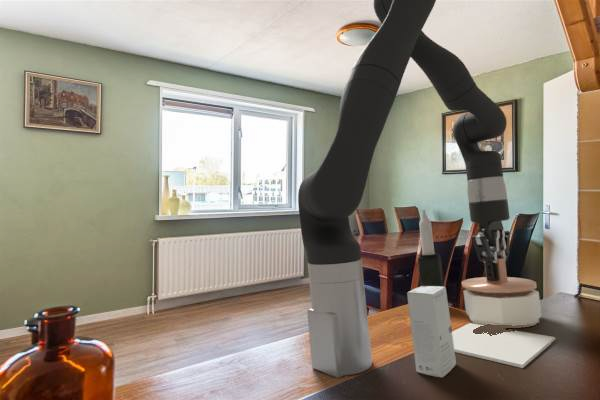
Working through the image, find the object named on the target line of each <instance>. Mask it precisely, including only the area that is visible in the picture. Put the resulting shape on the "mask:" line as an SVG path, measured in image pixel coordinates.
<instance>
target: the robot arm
mask: <svg viewBox="0 0 600 400" xmlns="http://www.w3.org/2000/svg"><path fill="white" fill-rule="evenodd" d="M436 1H437V0H373V1H372V2H373V4H372V6H373V10H374V13H375V15H376V17H377V18H378V21H379V22H380V23H381V26H380V27H379V28H378V30H377V31H376V32H375V34H374V35H372V38H371V39H370V40H369V41H368V43H367V44H366V45H365V47H364V49H363V50H362V51H361V53H360V54H359V56H358V57H357V59H356V60H355V63H354V64H353V67H352V69H351V71H350V73H349V75H348V79H347V81H346V83H345V85H344V88H343V91H342V92H341V93H342V95H341V97H340V102H339V112H338V113H339V114H338V123H337V124H338V125H337V129H336V132H335V135H334V138H333V141H332V142H331V144H330V147H329V149H328V151H327V153H326V155H325V157H324V159H323V161H322V162H321V164H320V166H319V167H318V169H316V170H315V171H313V172H311V173H310V174H308V175H307V176H306V177H305V178H304V179H303V180H302V182H301V183H300V185H299V189H298V193H297V194H298V196H297V200H298V203H297V205H298V206H297V207H298V215H299V223H300V231H301V238H302V244H303V247H304V250H305V253H306V257H307V258H306V261H307V269H308V270H307V271H308V283H309V293H310V295H309V296H310V304H311V308H309V309H308V310H307V325H308V333H309V334H308V335H309V345H310V346H309V347H310V357H311V367H312V368H313V369H315V370H317V371H320V372H322V373H324V374H327V375H329V376H331V377H334V378H338V379H339V378H340V377H343V376H352V375H356V374H360V373H363V372H365V371H367V370H368V369H370V368H371V366H372V364H373V358H372V349H371V339H370V328H369V319H368V310H367V299H366V290H365V281H364V280H365V279H364V270H363V262H362V261H363V259H362V250H361V249H362V248H361V245H360V243H359V240H357V239H356V238H355V237H354V235H353V233H352V229H351V225H350V218H349V217H350V216H351V215H352V214H353V213H354V212H355V211H356V210H357V209H358V208H359V206H360V204H361V201H362V199H363V197H364V192H365V189H366V185H367V180H368V176H369V174H370V173H369V172H370V168H371V165H372V160H373V157H374V154H375V151H376V147H377V145H378V142H379V140H380V138H381V135H382V133H383V131H384V128H385V125H386V123H387V120H388V117H389V115H390V112H391V110H392V108H393V105H394V102H395V100H396V97H397V95H398V92H399V89H400V87H401V82H402V80H403V77H404V74H405V72H406V69H407V67H408V64H409V61H410V59H412V60H413V61H414V62H415V64H417V66H418V67H419V69H421V71H422V72H423V73H424V75H425V76H426V77H427V79H428V80H429V82H430V83H431V85H432V86H433V88H434V90H435V91H436V93H437V94H438V96H439V98H440V99H441V101H442V102H443V104H444V105H445V107H446V108H447V110H449V111H452V112H460V111H461V112H463V111H464V112H465V111H466V113H464V114H461V115H459V116H458V117H456V119H455V120H454V123H453V126H452V133H453V139H454V140H455V142H456V144H457V146H458V149H459V152H460V154H461V156H462V158H463V162H464V164H465V171H466V179H467V180H466V181H467V182H466V183H467V187H466V189H467V190H466V192H467V193H466V194H467V200H468V202H467V203H468V209H469V217H470V222H471V223H478V224H477V235H475V234H474V235H471V241H472V243H473V246H474V250H475V252H476V256H477V259H478V261H479V262H483V263H484V267H485V266H486V271H485V276H486V275H487V280H488V281H498V280H499V274H498V265H497V258H505V261H507V258H508V257H509V255H510V240H511V232H510V230H505V228H504V226H503V221H508V220H510V209H509V202H508V193H507V186H506V183H505V180H504V171H503V163H502V157H501V154H500V153H499V152H498V151H496V150H482V149H481V148H480V146H479V144H478V143H481V142H486V141H489V140H493V139H496V138H499V137H501V136H502V135H503V134H504V133H505V131H506V129H507V124H508V123H507V117H506V115H505V113H504V111H503V110H502V108H501V107H500V106H499V105H498V104H497V103H496V102H494V101H493V100H492V99H491V98H490V97H489V96H488V95H487V94H486V93H485V92H484V91H483V90H482V89H481V88H479V87H478V85H477V83H476V81H475V80H474V78H473V77H472V75H471V73H470V72H469V70H468V68H467V66H466V65H465V64H464V62H463V61H462V59H460V58H459V57H458V56H457V55H456V54H454V53H453V52H451V51H450V50H449V49H446V48H445V47H443V46H442V45H439V44H438V43H437V42H435V41H434V40H433V39H432V38H430V37H429V36H427V35H426V33H425V32H424V31H423V28H424V26H425V24H426V22H427V20H428V18H429V16H430V14H431V13H432V11H433V9H434V6H435V4H436Z"/></svg>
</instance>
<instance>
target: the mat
mask: <svg viewBox="0 0 600 400" xmlns="http://www.w3.org/2000/svg"><path fill="white" fill-rule="evenodd" d="M480 326H484V325H478V324H475V323H473V322H472V323H471V322H469V323H467V324H465V325H463V326H461V327H459V328H457V329H455V330H453V331H452V336H453V343H454V351H455V353H457V354H462V355H465V356H470V357H474V358H478V359H483V360H486V361H491V362H495V363H498V364H499V363H500V364H505V365H507V366H512V367H516V368H520V369H523V368H525V367H526V366H527V365H528V364H529V363H531V362H533V360H534V359H535V358H537V357H538V356H539V355H540V354H541V353H542V352H543V351H544V350H546V349H547V348H548V347H549V346H550V345H552V344H553V343H554V342H555V341H556V337H555V336H550V335H544V334H538V333H532V332H526V331H522V330H521V331H520V330H519V331H518V330H515V331H514V332H513V331H511V332H503V333H501V334H500V333H499V334H497V333H496V334H497V335H492V334H491V335H492V336H490V335H489V334H487V333H488V332H487V333H484V332H483V333H484V334H483V333H482V334H475V333H473V330H474V329H476V328H478V327H480ZM554 340H555V341H554ZM553 341H554V342H553ZM552 342H553V343H552ZM551 343H552V344H551Z"/></svg>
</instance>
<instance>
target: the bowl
mask: <svg viewBox="0 0 600 400" xmlns="http://www.w3.org/2000/svg"><path fill="white" fill-rule="evenodd" d="M462 293H463V299H464V309H465V314H466V315H468V320H469V321H470V323H471V322H472V324H478V325H487V324H491V325H512V326H515V325H516V326H517V325H527V324H533V323H535V322H537V321H538V320H539V321H540V318H542V316H543V315H542V314H543V313H542V309H541V308H542V306H541V301H540V293H539V291H538V290H536V289H534V290H531V291H525V292H515V293H489V292H478V291H472V290H468V289H464V290H463V292H462ZM495 294H504V295H506V296H508V297H492V296H493V295H495Z"/></svg>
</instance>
